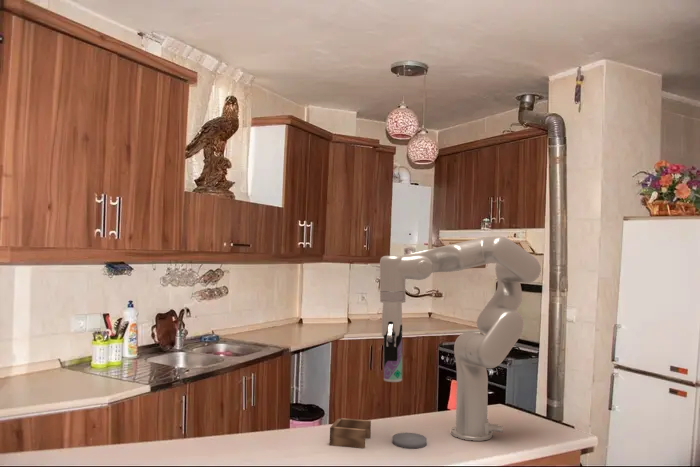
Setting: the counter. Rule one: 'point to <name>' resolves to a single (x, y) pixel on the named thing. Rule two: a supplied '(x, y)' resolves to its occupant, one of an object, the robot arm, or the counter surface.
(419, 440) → the mat
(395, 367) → the spray can
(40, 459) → the counter surface
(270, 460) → the counter surface
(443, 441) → the counter surface
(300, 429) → the counter surface
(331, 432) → the frame
